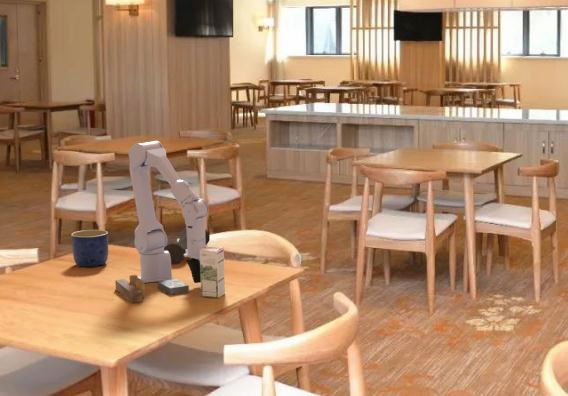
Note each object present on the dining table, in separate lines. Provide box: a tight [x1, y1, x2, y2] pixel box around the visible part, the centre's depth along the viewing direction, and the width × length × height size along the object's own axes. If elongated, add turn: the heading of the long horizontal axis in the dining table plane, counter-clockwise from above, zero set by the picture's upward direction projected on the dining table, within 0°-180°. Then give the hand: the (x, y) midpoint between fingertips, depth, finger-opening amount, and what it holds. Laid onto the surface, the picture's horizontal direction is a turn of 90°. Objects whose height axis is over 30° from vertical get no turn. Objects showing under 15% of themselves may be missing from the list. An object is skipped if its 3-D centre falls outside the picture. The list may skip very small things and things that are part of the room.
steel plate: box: [157, 278, 190, 296], centre depth 308 cm, size 6×10×2 cm, turn 29°
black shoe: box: [164, 226, 211, 265], centre depth 355 cm, size 11×10×28 cm
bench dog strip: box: [114, 274, 146, 304], centre depth 302 cm, size 5×18×5 cm, turn 25°
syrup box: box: [200, 245, 226, 299], centre depth 299 cm, size 6×6×14 cm
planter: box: [70, 229, 109, 268], centre depth 343 cm, size 12×12×11 cm
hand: (197, 282), depth 311 cm, fingers closed
